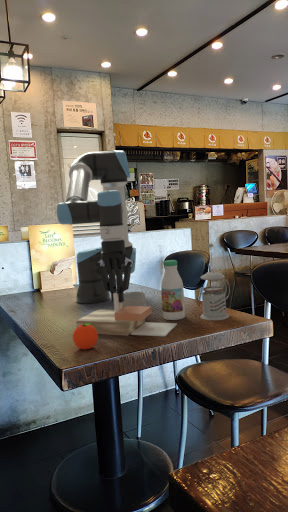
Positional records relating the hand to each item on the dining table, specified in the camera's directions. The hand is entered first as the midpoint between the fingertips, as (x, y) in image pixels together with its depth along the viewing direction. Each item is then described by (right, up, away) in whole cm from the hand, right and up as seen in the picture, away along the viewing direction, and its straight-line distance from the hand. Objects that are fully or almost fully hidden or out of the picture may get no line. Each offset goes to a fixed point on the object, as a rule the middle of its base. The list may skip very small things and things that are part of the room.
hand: (118, 312), depth 121 cm
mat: (+12, -5, -4) cm, 13 cm away
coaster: (+5, -1, -2) cm, 5 cm away
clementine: (-8, -8, -16) cm, 20 cm away
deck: (-2, -5, +2) cm, 6 cm away
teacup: (+4, -4, +17) cm, 17 cm away
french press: (+33, -2, +7) cm, 34 cm away
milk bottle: (+19, -3, +8) cm, 21 cm away
